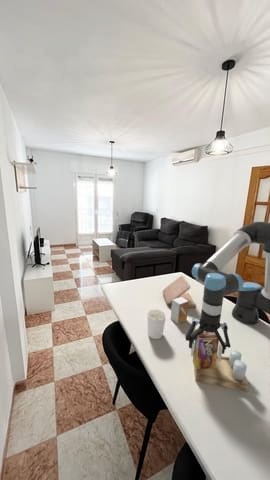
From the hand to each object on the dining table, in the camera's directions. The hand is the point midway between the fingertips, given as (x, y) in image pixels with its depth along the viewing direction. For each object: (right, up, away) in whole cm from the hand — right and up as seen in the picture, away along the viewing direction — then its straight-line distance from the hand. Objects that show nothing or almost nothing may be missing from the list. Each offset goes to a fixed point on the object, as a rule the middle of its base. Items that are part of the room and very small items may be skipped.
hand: (205, 356), depth 85 cm
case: (+2, +6, +60) cm, 60 cm away
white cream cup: (-19, -1, +23) cm, 30 cm away
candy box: (0, -4, +1) cm, 5 cm away
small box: (-3, +1, +37) cm, 37 cm away
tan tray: (+6, -7, 0) cm, 9 cm away
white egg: (+13, -5, +1) cm, 14 cm away
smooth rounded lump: (+12, -6, -4) cm, 14 cm away
